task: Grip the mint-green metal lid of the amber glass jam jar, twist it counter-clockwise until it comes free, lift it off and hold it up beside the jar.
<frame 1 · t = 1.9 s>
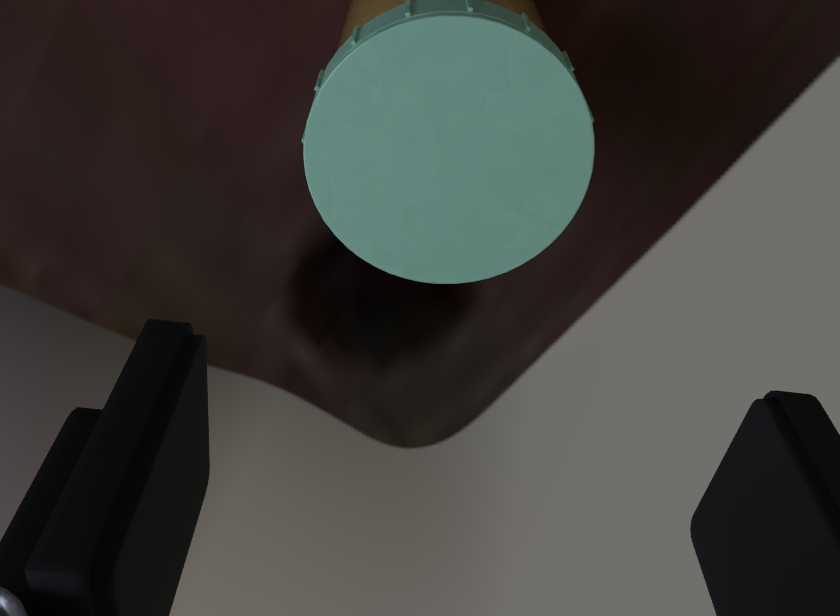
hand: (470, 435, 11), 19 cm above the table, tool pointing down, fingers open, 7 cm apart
jam jar: (440, 27, 27), on the table
lid: (448, 159, 18), point 10 cm above the table, screwed on, not yet turned
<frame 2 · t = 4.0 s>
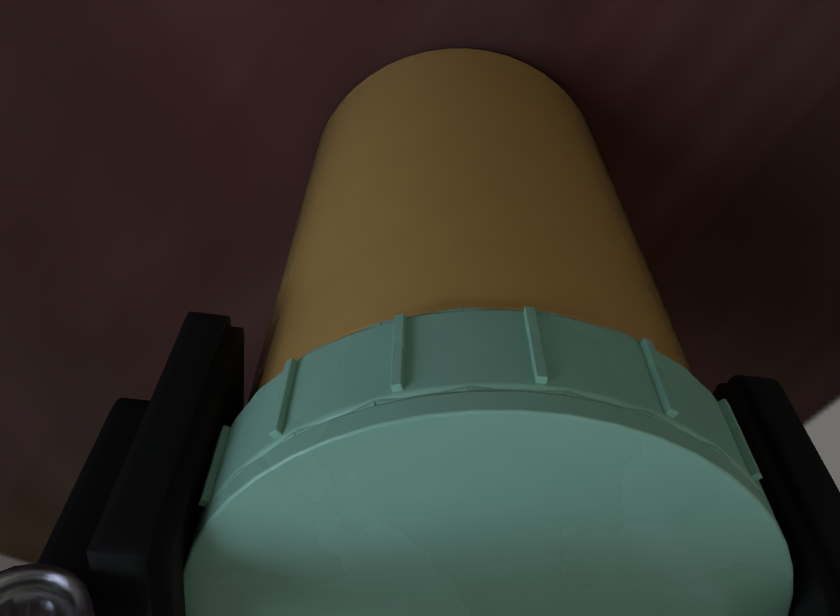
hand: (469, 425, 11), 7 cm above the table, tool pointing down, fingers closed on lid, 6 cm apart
jam jar: (455, 189, 18), on the table
lid: (481, 607, 9), point 10 cm above the table, screwed on, not yet turned, touching gripper
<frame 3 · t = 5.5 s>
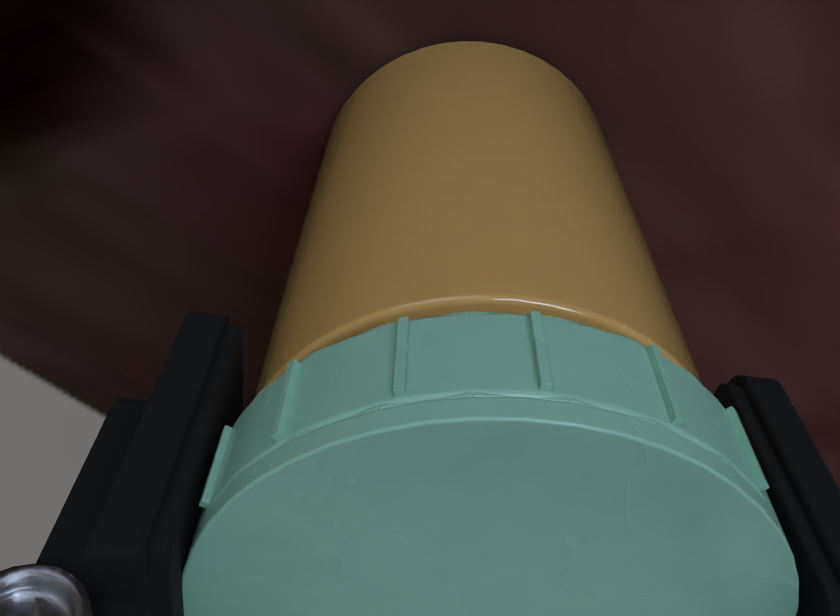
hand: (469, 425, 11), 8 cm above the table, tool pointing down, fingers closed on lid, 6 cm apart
jam jar: (464, 182, 18), on the table
lid: (482, 611, 9), point 11 cm above the table, turned 100° so far, risen 0.3 cm, still on its thread, touching gripper
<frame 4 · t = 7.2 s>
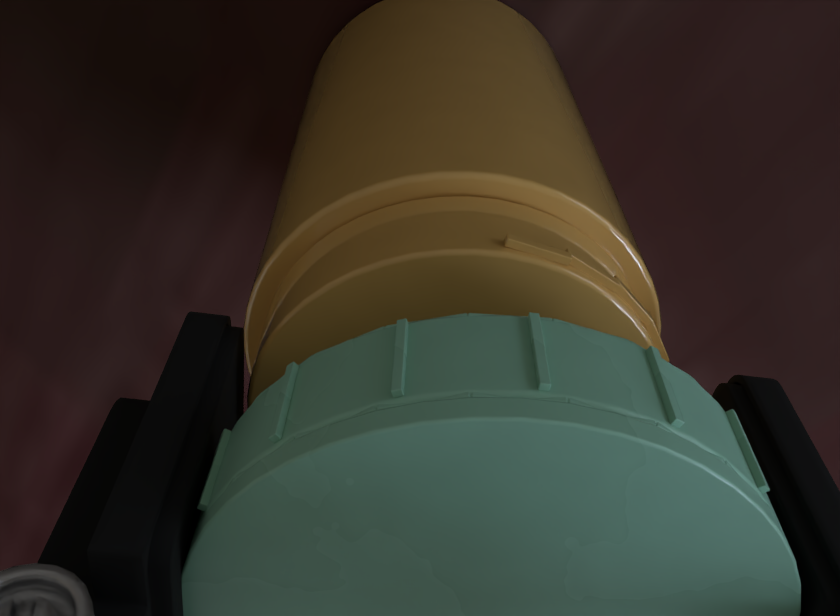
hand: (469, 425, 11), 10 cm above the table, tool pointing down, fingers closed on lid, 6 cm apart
jam jar: (437, 122, 19), on the table
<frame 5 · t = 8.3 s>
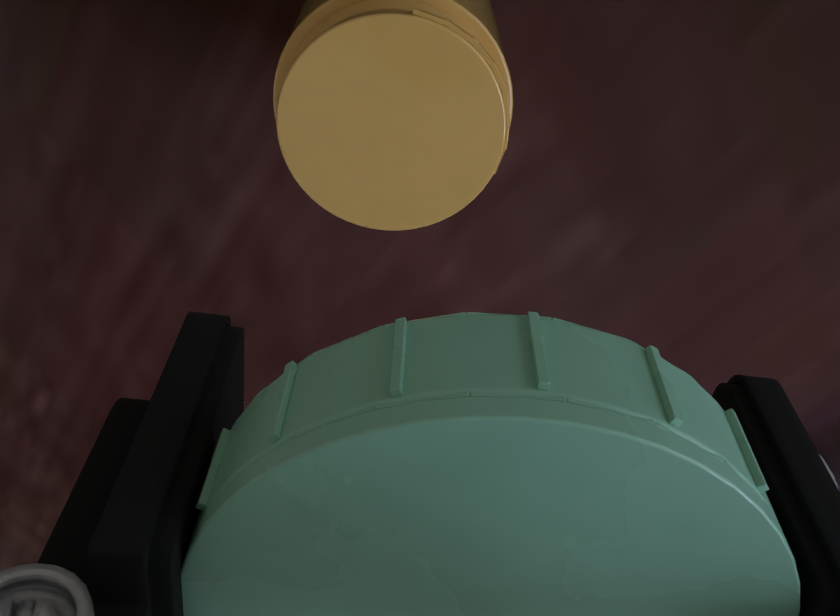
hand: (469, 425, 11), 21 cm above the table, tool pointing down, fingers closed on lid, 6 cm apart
jam jar: (400, 12, 28), on the table
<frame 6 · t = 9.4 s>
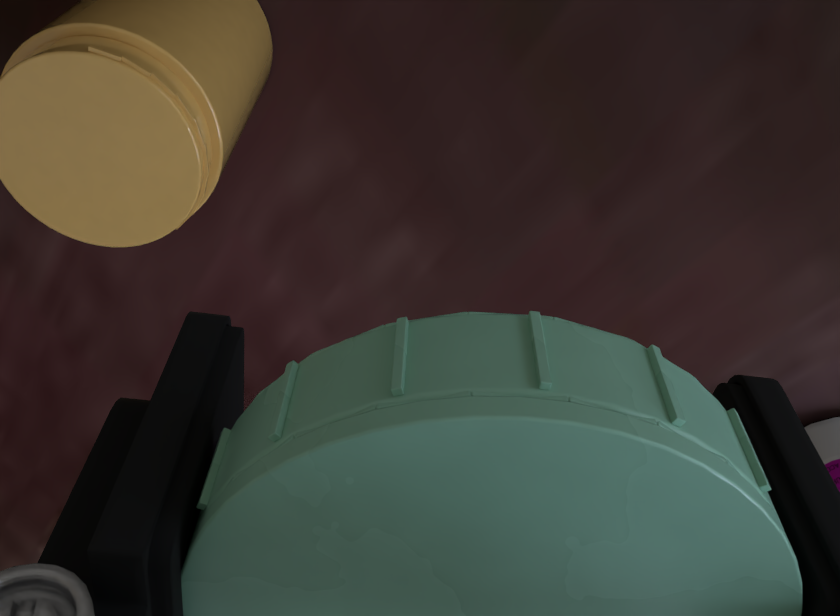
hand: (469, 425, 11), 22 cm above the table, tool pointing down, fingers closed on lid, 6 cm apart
jam jar: (188, 41, 30), on the table
supplement can: (828, 459, 43), on the table
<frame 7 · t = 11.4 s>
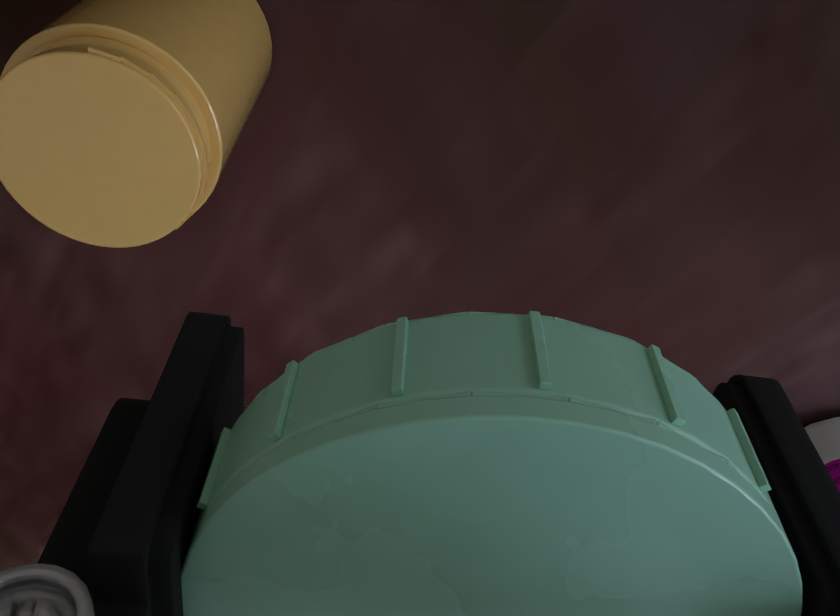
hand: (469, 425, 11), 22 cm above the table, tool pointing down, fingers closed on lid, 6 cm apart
jam jar: (188, 41, 30), on the table
supplement can: (829, 459, 43), on the table
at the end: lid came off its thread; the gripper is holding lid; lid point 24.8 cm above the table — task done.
